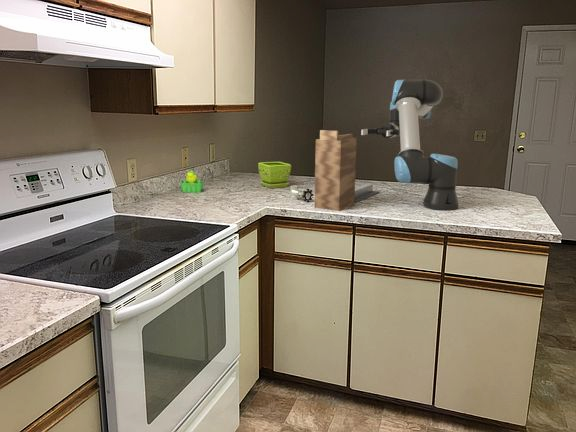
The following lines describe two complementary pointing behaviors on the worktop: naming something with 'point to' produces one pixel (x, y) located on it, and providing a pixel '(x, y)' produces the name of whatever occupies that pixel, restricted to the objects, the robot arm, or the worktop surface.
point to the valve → (300, 193)
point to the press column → (335, 170)
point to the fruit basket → (191, 183)
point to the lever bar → (363, 190)
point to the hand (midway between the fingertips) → (374, 132)
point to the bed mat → (365, 196)
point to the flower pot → (274, 174)
